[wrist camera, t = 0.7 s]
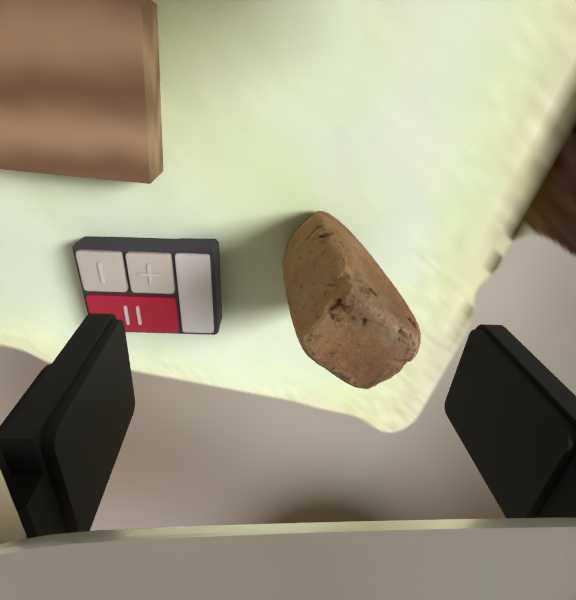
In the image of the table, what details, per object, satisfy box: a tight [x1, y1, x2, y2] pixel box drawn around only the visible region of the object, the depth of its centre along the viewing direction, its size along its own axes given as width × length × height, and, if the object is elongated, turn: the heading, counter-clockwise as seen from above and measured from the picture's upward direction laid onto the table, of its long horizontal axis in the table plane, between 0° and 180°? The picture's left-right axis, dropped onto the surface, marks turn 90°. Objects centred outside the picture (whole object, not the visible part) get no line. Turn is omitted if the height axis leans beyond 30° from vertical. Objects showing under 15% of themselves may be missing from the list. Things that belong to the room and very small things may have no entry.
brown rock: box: [282, 211, 421, 389], centre depth 38 cm, size 11×8×20 cm
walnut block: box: [0, 0, 163, 184], centre depth 34 cm, size 14×14×6 cm
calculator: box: [73, 237, 222, 335], centre depth 45 cm, size 11×4×15 cm
